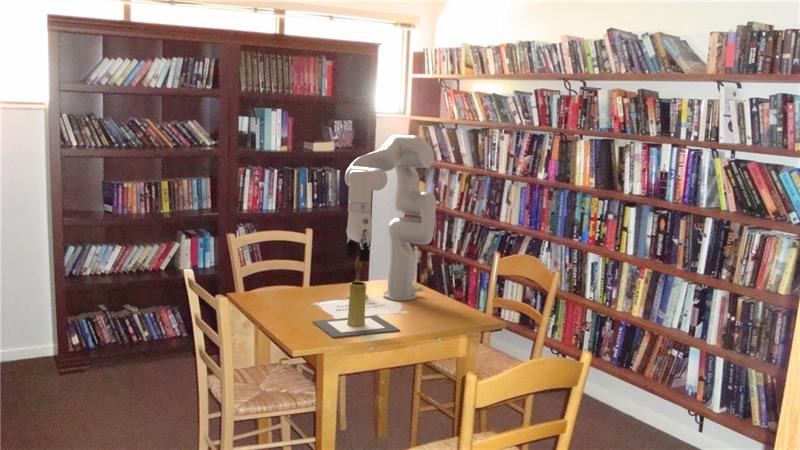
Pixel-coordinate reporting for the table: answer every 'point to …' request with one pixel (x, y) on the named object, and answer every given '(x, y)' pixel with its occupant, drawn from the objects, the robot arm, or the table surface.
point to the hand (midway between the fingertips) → (357, 257)
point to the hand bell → (358, 273)
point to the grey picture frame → (341, 329)
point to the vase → (357, 304)
